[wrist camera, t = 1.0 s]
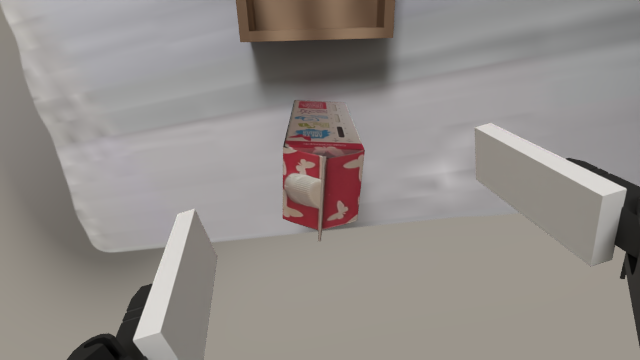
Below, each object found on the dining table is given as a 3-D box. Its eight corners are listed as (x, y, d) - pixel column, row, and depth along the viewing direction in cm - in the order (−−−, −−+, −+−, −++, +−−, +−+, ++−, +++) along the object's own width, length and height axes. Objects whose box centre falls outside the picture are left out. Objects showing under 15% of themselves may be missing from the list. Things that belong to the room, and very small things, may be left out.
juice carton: (293, 149, 48) (279, 240, 28) (294, 100, 45) (279, 162, 25) (341, 151, 48) (361, 242, 28) (345, 102, 46) (370, 165, 26)
